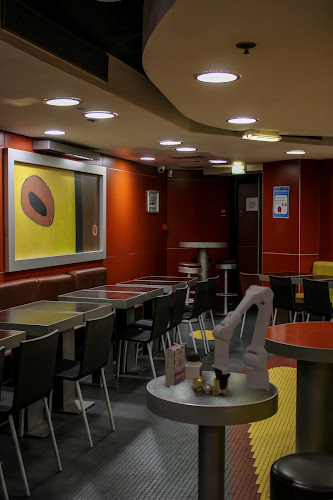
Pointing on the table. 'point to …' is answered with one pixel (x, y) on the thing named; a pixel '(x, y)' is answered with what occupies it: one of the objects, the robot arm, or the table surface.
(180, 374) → the candy bar box
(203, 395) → the plate
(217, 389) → the gear
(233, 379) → the table surface
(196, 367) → the medicine bottle
